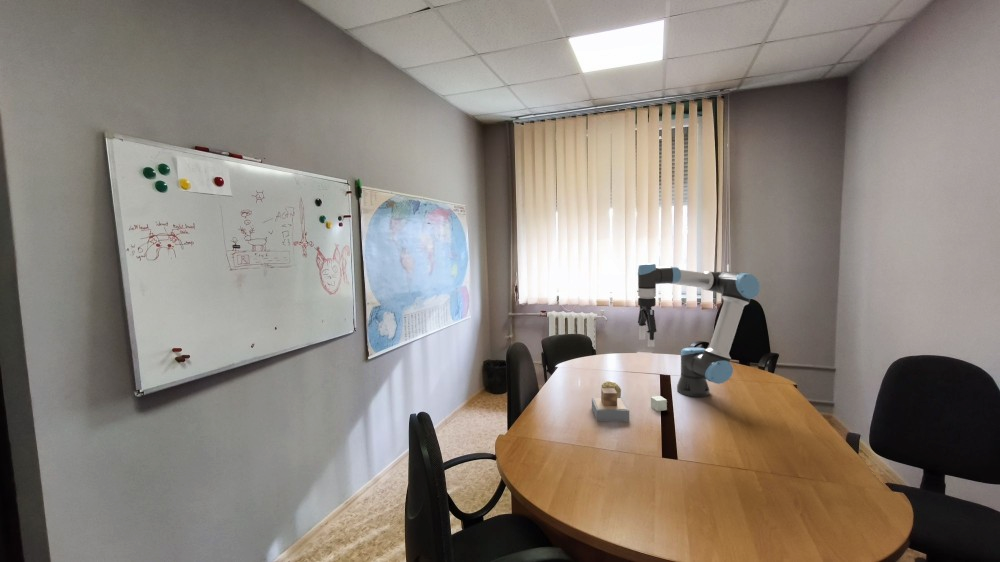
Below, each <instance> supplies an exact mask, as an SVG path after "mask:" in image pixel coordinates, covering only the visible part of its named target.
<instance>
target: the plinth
mask: <svg viewBox="0 0 1000 562" xmlns="http://www.w3.org/2000/svg"><path fill="white" fill-rule="evenodd" d="M625 402H626V401H625V400H624V399H623V397H621V398H617V406H603V404H602V401H601V397H591V409H592V412H593V414H594V417H595V420H596V422H630V409H629V408H628V406H627V405H626V403H625Z"/></svg>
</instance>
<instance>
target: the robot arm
mask: <svg viewBox="0 0 1000 562" xmlns="http://www.w3.org/2000/svg"><path fill="white" fill-rule="evenodd" d="M637 270H638V272H637V286H638V287H637V290H636V292H637V296H638V298H637V305H638V306H639V313H638V319H637V323H638V325H639V327H638V330H639V333H638V334H639V335H638V336H639V337H638V340H639V341H641V340H643V341H644V340H646V334H647V347H648V348H655V347H656V346H655V343H656V342H655V341H656V340H655V337H656V336H655V334H656V333H657V332H658V331H657V324H656V318H655V310H654V309H652V308H653V307H655V306H656V305H657V304H656V297H657V294H656V293H657V289H656V287H657V285H660V284H668V285H669V284H670V285H679V286H686V287H695V288H701V290H703V291H707V292H708V291H710V292H714V293H717V294H720V295H721V298H722V299H723V303H722V306H721V309H720V311H719V314H718V315H719V316H718V318H717V321H716V325H715V328H714V330H713V333H712V337H711V340H710V344H709V346H708V347H707V348H704V347H693V346H692V347H685V348H682V349H681V352H680V377H679V379H678V382H677V385H676V391H677V392H678V393H680V394H681V395H683V396H688V397H693V398H694V397H695V398H705V397H708V396H709V395H710V386H709V384H708V382H710V383H714V384H719V385H720V384H724V383H725V382H726V383H727V382H728V381H729V380H730V379H731V377H732V376H733V374H734V368H733V365H732V364H731V359H732V357H731V356H730V351H731V348H732V344H733V342H734V339H735V336H736V333H737V329H738V325H739V323H740V320H741V317H742V314H743V312H744V311H743V310H744V308H745V306H747V305H749V304H750V302H751V299H754V298H755V297H757V296H758V295H759V293H760V290H761V285H760V281H759V279H758V277H757V276H755V275H754V274H751V273H748V272H747V273H746V272H737V271H736V272H734V271H707V270H706V271H704V272H701V271H700V272H699V271H692V270H684V269H680V268H679V267H677V266H669V267H668V266H657V265H656V264H655V263H641V264H639V265H638V269H637ZM646 326H647V327H646ZM646 328H647V331H646ZM707 381H708V382H707Z"/></svg>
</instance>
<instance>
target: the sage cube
mask: <svg viewBox="0 0 1000 562" xmlns="http://www.w3.org/2000/svg"><path fill="white" fill-rule="evenodd" d="M667 400H668V399H666V398H664V397H663V396H662V395H655V396H650V407H651V408H652V409H653V410H654V411H656V412H661V411H668V407H667V406H668V404H667V403H668V401H667Z"/></svg>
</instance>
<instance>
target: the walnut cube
mask: <svg viewBox="0 0 1000 562" xmlns="http://www.w3.org/2000/svg"><path fill="white" fill-rule="evenodd" d="M600 395H601V396H600V398H601V401H602V404H603V406H617V392H616V390H615V388H602V387H600Z"/></svg>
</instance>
